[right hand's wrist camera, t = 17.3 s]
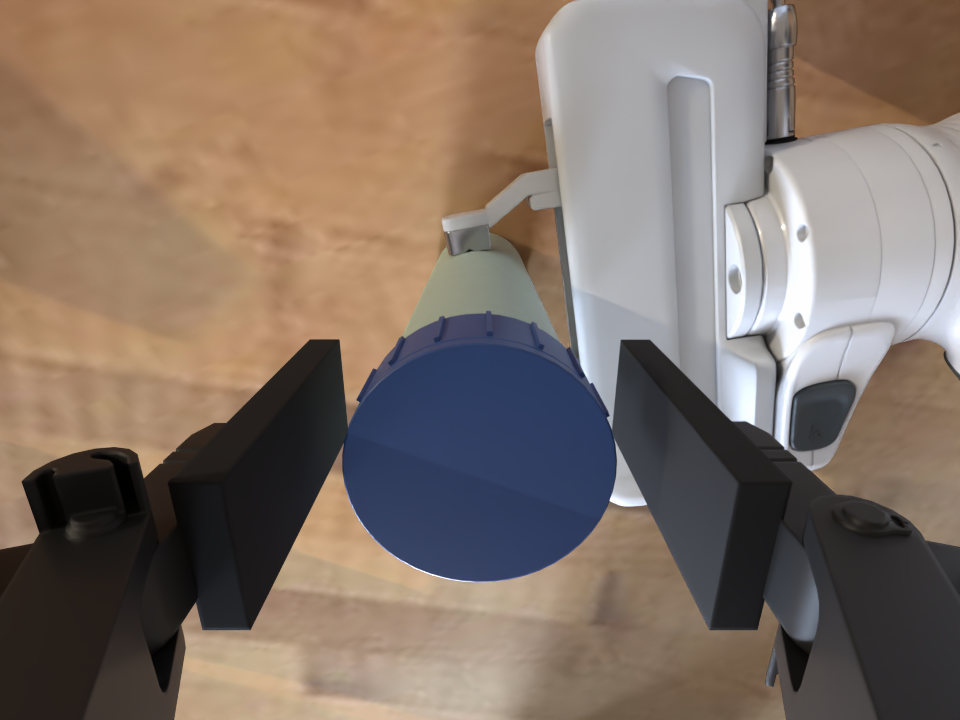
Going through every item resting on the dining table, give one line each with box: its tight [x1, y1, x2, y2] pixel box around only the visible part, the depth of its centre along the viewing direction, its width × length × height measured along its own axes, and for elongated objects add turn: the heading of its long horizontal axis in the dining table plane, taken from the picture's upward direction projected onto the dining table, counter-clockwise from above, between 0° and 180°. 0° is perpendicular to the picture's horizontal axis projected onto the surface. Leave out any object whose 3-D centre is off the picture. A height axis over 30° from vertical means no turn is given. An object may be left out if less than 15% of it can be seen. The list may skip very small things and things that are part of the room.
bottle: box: [403, 232, 560, 342], centre depth 19 cm, size 5×5×19 cm
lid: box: [342, 311, 617, 582], centre depth 11 cm, size 5×5×2 cm
